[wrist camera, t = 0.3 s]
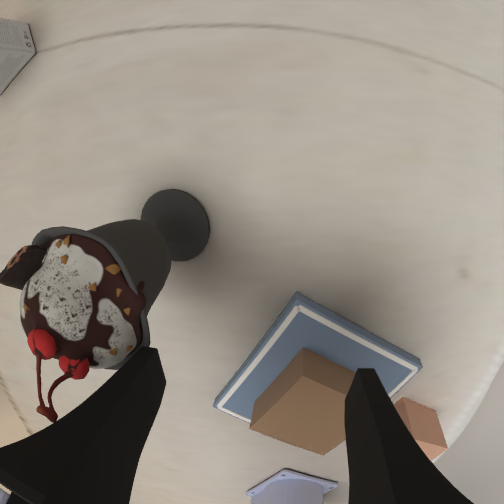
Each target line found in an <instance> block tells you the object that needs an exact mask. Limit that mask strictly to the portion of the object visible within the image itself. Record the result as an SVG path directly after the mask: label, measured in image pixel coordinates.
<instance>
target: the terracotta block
mask: <svg viewBox="0 0 504 504" xmlns="http://www.w3.org/2000/svg"><path fill="white" fill-rule="evenodd" d="M394 407H395V408H396V410H397V412H398V413H399V415H400V417H401V419H402V420H403V422H404V424H405V425H406V427H407V428H408V430H409V432H410V433H411V435H412V436H413V438H414V439H415V441H416V442H417V444H418V445H419V446H420V448H421V449H422V450H423V452H424V453H425V454H426V456H427V457H428V458H429V460H430V461H431V460H433V459H434V458H435V457H437V456H438V455H440V454H441V453H442V452H444V451H445V450H446V449H448V447H447V444H446V441H445V438H444V435H443V432H442V429H441V426H440V423H439V420H438V417H437V414H436V411H435V410H433V409H431V408H428V407H426V406H423V405H421V404H418V403H416V402H413V401H411V400H409V399H406V398H404V397H402V398H401V399H400V400H399V401H398V402H396V403H395V404H394Z"/></svg>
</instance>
